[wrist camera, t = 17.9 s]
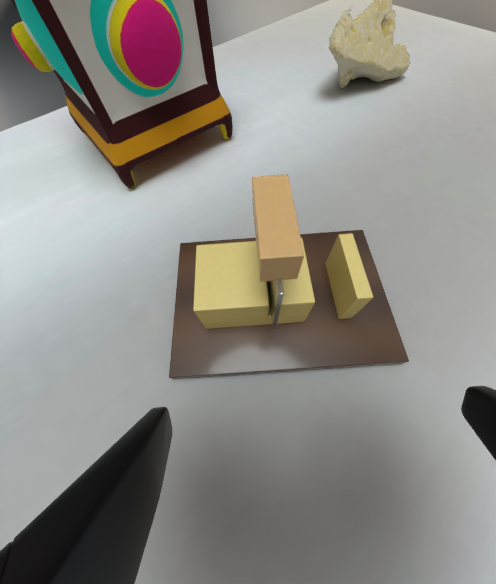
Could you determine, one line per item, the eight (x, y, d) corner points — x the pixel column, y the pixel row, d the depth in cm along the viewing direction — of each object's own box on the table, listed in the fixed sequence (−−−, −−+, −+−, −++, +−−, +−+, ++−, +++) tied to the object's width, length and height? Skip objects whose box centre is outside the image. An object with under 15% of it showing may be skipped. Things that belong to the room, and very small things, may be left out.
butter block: (304, 322, 21) (315, 302, 17) (205, 329, 21) (193, 311, 17) (294, 265, 24) (302, 237, 20) (206, 272, 24) (196, 245, 20)
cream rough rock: (378, 72, 46) (330, -3, 39) (420, 41, 40) (372, -55, 32) (352, 140, 44) (298, 75, 37) (392, 119, 38) (335, 36, 31)
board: (402, 363, 20) (409, 361, 19) (172, 379, 20) (168, 377, 20) (359, 235, 26) (362, 229, 25) (182, 248, 27) (180, 242, 26)
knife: (287, 328, 19) (308, 273, 11) (260, 330, 19) (261, 276, 11) (276, 247, 22) (285, 163, 15) (253, 249, 22) (250, 165, 15)
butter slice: (351, 318, 21) (373, 297, 17) (338, 319, 21) (357, 298, 17) (336, 262, 24) (352, 233, 20) (324, 263, 24) (338, 234, 20)
